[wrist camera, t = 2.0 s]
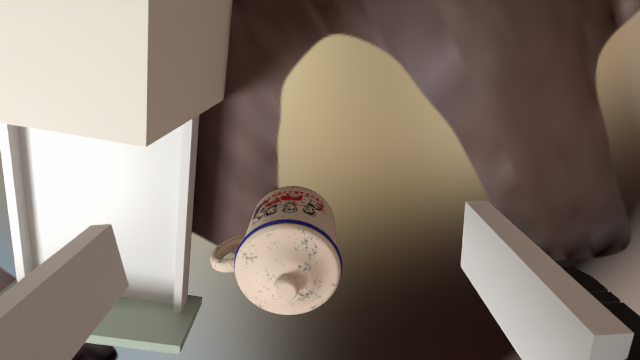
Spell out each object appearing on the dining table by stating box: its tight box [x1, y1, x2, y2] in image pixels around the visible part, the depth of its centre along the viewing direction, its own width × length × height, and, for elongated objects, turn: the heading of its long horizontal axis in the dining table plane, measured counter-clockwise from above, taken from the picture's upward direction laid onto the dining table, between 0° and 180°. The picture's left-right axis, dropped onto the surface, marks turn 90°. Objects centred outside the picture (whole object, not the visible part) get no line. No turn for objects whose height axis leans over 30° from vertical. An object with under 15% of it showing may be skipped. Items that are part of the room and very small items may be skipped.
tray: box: [0, 115, 202, 354], centre depth 34 cm, size 19×24×7 cm
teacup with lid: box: [210, 186, 342, 315], centre depth 33 cm, size 12×9×12 cm
